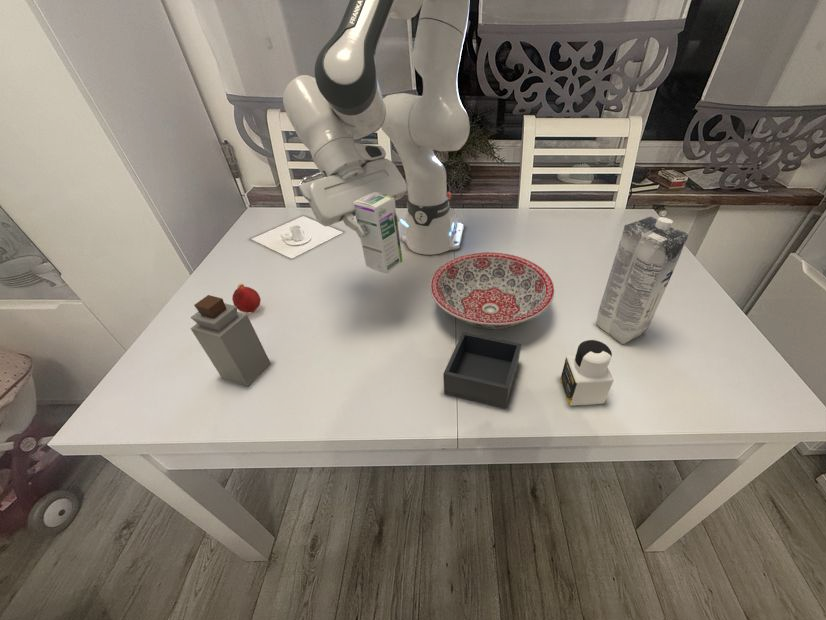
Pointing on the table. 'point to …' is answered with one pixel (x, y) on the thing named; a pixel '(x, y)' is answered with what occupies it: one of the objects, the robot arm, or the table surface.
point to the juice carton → (639, 276)
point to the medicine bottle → (587, 374)
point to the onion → (246, 299)
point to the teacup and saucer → (296, 236)
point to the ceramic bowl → (492, 289)
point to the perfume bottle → (229, 340)
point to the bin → (482, 369)
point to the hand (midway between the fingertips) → (380, 229)
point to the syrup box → (379, 231)
